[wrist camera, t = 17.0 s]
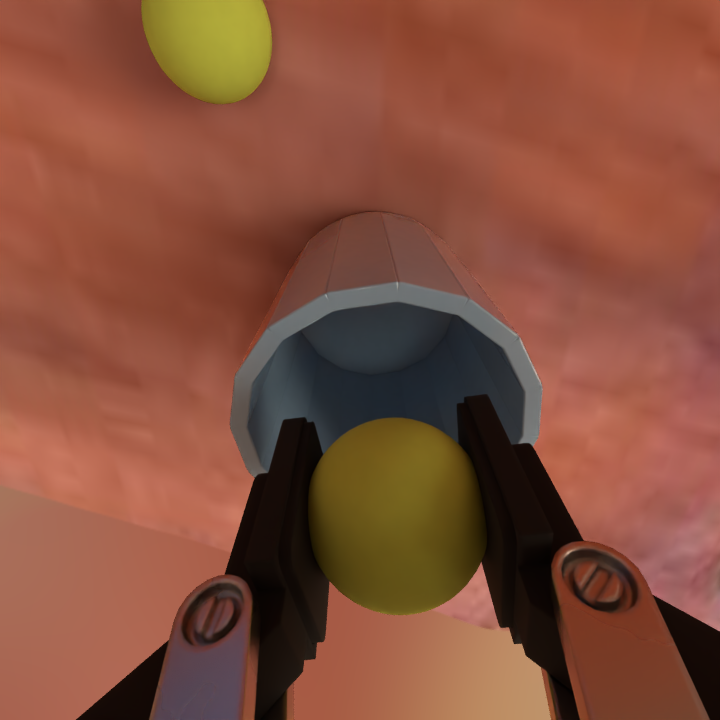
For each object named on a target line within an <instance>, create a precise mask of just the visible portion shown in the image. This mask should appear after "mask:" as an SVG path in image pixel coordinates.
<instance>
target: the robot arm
mask: <svg viewBox="0 0 720 720" xmlns="http://www.w3.org/2000/svg"><path fill="white" fill-rule="evenodd" d="M457 426H458V444H459V445H460V446H461V447H462V448H463V449H464V450H465V451H466V453H467V454H468V455H469V457H470V459H471V460H472V463H473V466H474V468H475V472H476V475H477V479H478V483H479V487H480V491H481V496H482V501H483V507H484V513H485V520H486V529H487V547H486V550H485V554H484V556H483V559H482V561H481V562H482V565H483V569H484V573H485V576H486V580H487V584H488V587H489V591H490V594H491V598H492V602H493V605H494V609H495V613H496V616H497V620H498V623H499V626H500V627H501V628H505V627H509V629H510V632H511V636H512V639H513V642H514V644H522V645H523V648H524V651H525V655H526V656H527V657H528V658H530V659H531V660H532V661H534V662H535V663H536V664H538V665H539V666H540V667H541V670H542V675H543V680H544V685H545V690H546V696H547V700H548V706H549V711H550V716H551V720H720V631H718V630H716V629H714V628H712V627H710V626H709V625H707V624H705V623H703V622H701V621H699V620H698V619H696V618H694V617H692V616H690V615H688V614H687V613H685V612H683V611H681V610H679V609H677V608H676V607H674V606H672V605H670V604H668V603H666V602H665V601H663V600H661V599H659V598H657V597H656V596H654V595H652V593H651V591H650V588H649V586H648V584H647V582H646V580H645V578H644V577H643V575H642V574H641V572H640V571H639V569H638V568H637V567H636V566H635V565H634V564H633V563H632V562H631V561H630V560H629V559H628V558H627V557H626V556H624V555H622V554H621V553H619V552H618V551H616V550H615V549H613V548H610V547H608V546H605V545H603V544H600V543H595V542H589V541H584V540H583V539H582V537H581V535H580V533H579V531H578V529H577V527H576V526H575V524H574V522H573V520H572V518H571V516H570V514H569V513H568V511H567V509H566V507H565V505H564V503H563V502H562V500H561V498H560V496H559V494H558V492H557V490H556V489H555V487H554V485H553V483H552V481H551V479H550V477H549V476H548V474H547V472H546V470H545V468H544V466H543V464H542V463H541V461H540V459H539V457H538V455H537V453H536V451H535V450H534V448H533V447H532V445H531V444H530V443H521V444H511V442H510V440H509V438H508V436H507V434H506V432H505V430H504V428H503V425H502V423H501V421H500V419H499V417H498V415H497V413H496V411H495V409H494V406H493V404H492V402H491V400H490V398H489V396H488V395H487V394H482V395H474V396H466V397H464V403H457ZM322 456H323V452H322V448H321V445H320V441H319V437H318V434H317V430H316V426H315V423H314V422H313V421H312V422H307V419H306V418H305V417H299V418H292V419H284V420H283V422H282V425H281V428H280V432H279V435H278V439H277V443H276V446H275V450H274V454H273V457H272V461H271V465H270V468H269V472H268V473H261V474H258V475H257V476H256V477H255V479H254V482H253V485H252V488H251V491H250V494H249V498H248V501H247V504H246V507H245V510H244V514H243V517H242V520H241V523H240V527H239V530H238V533H237V536H236V539H235V543H234V546H233V549H232V552H231V556H230V559H229V562H228V565H227V568H226V572H225V575H220V576H217V577H214V578H211V579H209V580H207V581H205V582H204V583H202V584H201V585H199V586H198V587H196V588H195V589H194V590H193V591H192V592H191V593H190V594H189V595H188V596H187V597H186V599H185V600H184V602H183V603H182V605H181V606H180V608H179V609H178V612H177V614H176V617H175V619H174V622H173V626H172V631H171V634H170V638H169V640H168V641H167V642H166V643H165V644H163V645H162V646H161V647H160V648H159V649H158V650H156V651H155V652H154V653H153V654H152V655H151V656H149V658H147V659H146V660H145V661H144V662H143V663H141V664H140V665H139V666H138V667H137V668H136V669H134V670H133V671H132V672H131V673H130V674H129V675H127V676H126V677H125V678H124V679H123V680H122V681H120V682H119V683H118V684H117V685H116V686H115V687H114V688H112V689H111V690H110V691H109V692H108V693H106V695H104V696H103V697H102V698H101V699H100V700H98V701H97V702H96V703H95V704H94V705H93V706H92V707H90V708H89V709H88V710H87V711H86V712H85V713H83V714H82V715H81V716H80V717H79V718H77V719H76V720H294V683H293V682H294V681H295V680H296V679H297V678H298V677H299V676H300V674H301V673H302V672H303V666H304V660H311V659H315V658H316V647H317V642H323V641H324V640H325V634H326V621H327V607H328V593H329V580H328V579H327V577H326V576H325V574H324V573H323V571H322V570H321V568H320V567H319V565H318V563H317V561H316V559H315V557H314V553H313V550H312V545H311V539H310V532H309V521H308V494H309V485H310V481H311V477H312V474H313V472H314V470H315V468H316V466H317V464H318V462H319V460H320V459H321V458H322Z"/></svg>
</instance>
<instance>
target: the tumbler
mask: <svg viewBox="0 0 720 720" xmlns="http://www.w3.org/2000/svg"><path fill="white" fill-rule="evenodd" d="M542 388H543V387H542V383H541V381H540V378H539V376H538V374H537V372H536V370H535V368H534V366H533V363H532V361H531V359H530V357H529V355H528V353H527V351H526V348H525V346H524V344H523V342H522V340H521V338H520V336H519V335H518V334H517V333H516V331H515V330H514V329H513V327H512V326H511V325H510V324H509V322H508V321H507V320H506V319H505V317H504V316H503V315H502V313H501V312H500V311H499V310H498V308H497V307H496V306H495V304H494V303H493V302H492V301H491V299H490V298H489V297H488V296H487V294H486V293H485V292H484V290H483V289H482V288H481V287H480V285H479V284H478V283H477V281H476V280H475V279H474V278H473V276H472V275H471V274H470V273H469V271H468V270H467V269H466V267H465V266H464V265H463V264H462V262H461V261H460V260H459V259H458V257H457V256H456V255H455V253H454V252H453V251H452V250H451V248H450V247H449V246H448V245H447V244H446V243H445V242H444V241H443V240H441V239H440V238H439V237H438V236H437V235H436V234H435V233H434V232H433V231H431V230H430V229H429V228H427V227H426V226H424V225H423V224H421V223H420V222H418V221H415V220H413V219H411V218H408V217H405V216H402V215H399V214H394V213H388V212H366V213H359V214H355V215H350V216H347V217H345V218H342V219H340V220H337V221H335V222H334V223H332V224H330V225H328V226H326V227H325V228H324V229H322V230H321V231H320V232H318V233H317V234H316V235H315V236H314V237H313V238H311V239H310V240H309V241H308V242H307V244H306V246H305V247H304V248H303V250H302V251H301V253H300V254H299V256H298V258H297V259H296V261H295V262H294V264H293V266H292V267H291V269H290V270H289V272H288V274H287V276H286V278H285V280H284V282H283V284H282V286H281V288H280V290H279V291H278V293H277V295H276V297H275V299H274V301H273V303H272V305H271V307H270V309H269V311H268V313H267V314H266V316H265V318H264V320H263V322H262V324H261V326H260V328H259V330H258V332H257V334H256V335H255V337H254V339H253V341H252V343H251V345H250V347H249V349H248V351H247V353H246V355H245V357H244V358H243V360H242V362H241V364H240V366H239V368H238V370H237V372H236V374H235V377H234V386H233V396H232V406H231V416H230V429H231V431H232V433H233V436H234V438H235V441H236V443H237V446H238V448H239V451H240V453H241V456H242V458H243V461H244V463H245V466H246V468H247V470H248V471H249V473H250V474H251V475H252V476H253V477H254V478H255V477H256V476H257V475H258V474H261V473H268V472H269V468H270V465H271V461H272V457H273V454H274V450H275V446H276V443H277V439H278V435H279V432H280V428H281V425H282V422H283V420H284V419H292V418H299V417H305V418H306V419H307V422H312V421H313V422H314V423H315V426H316V430H317V434H318V437H319V441H320V445H321V448H322V452H323V455H324V453H325V452H326V451H327V449H328V448H329V447H330V446H331V445H332V444H333V443H334V442H335V441H336V440H337V439H338V438H339V437H341V436H342V435H343V434H345V433H346V432H348V431H349V430H351V429H353V428H355V427H357V426H359V425H361V424H363V423H366V422H369V421H372V420H376V419H382V418H407V419H413V420H417V421H420V422H423V423H426V424H429V425H431V426H433V427H435V428H437V429H439V430H441V431H442V432H444V433H445V434H447V435H448V436H449V437H451V438H452V439H454V440H455V441H456V442H457V443H458V426H457V403H464V397H466V396H474V395H482V394H487V395H488V396H489V398H490V400H491V402H492V404H493V406H494V409H495V411H496V413H497V415H498V417H499V419H500V421H501V423H502V425H503V428H504V430H505V432H506V434H507V436H508V438H509V440H510V442H511V444H521V443H530V444H531V445H532V447H533V445H534V444H535V442H536V440H537V439H538V435H539V428H540V415H541V402H542Z"/></svg>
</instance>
